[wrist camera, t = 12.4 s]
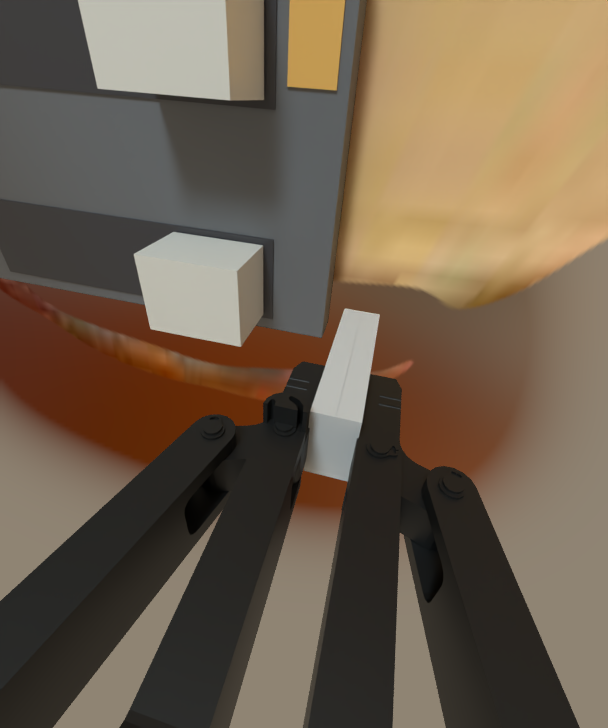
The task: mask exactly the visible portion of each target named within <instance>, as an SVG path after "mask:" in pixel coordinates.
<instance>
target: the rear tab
mask: <svg viewBox="0 0 608 728" xmlns="http://www.w3.org/2000/svg"><path fill="white" fill-rule="evenodd" d="M134 258H135V263H136V267H137V272H138V276H139V281H140V285H141V289H142V294H143V298H144V303H145V307H146V311H147V316H148V320H149V325H150V328H151V329H153V330H158V331H163V332H169V333H173V334H178V335H183V336H188V337H193V338H198V339H203V340H208V341H214V342H219V343H224V344H229V345H234V346H239V347H241V346H242V344H243V343H244V342H245V340H246V339H247V337H248V335H249V334H250V332H251V331H252V330H253V329H254V327H255V326H256V324H257V323H258V321H259V320H260V318H261V317H262V316H263V245H257V244H251V243H244V242H237V241H231V240H224V239H218V238H211V237H204V236H198V235H191V234H184V233H178V232H172V233H170V234H169V235H167V236H165V237H163V238H162V239H160V240H158V241H156V242H154V243H153V244H151V245H149V246H147V247H145V248H144V249H142V250H140V251H138V252H136V253H135V254H134Z"/></svg>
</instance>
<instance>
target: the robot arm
mask: <svg viewBox="0 0 608 728" xmlns="http://www.w3.org/2000/svg"><path fill="white" fill-rule="evenodd" d="M378 322H379V314H374V313H368V312H362V311H357V310H351V309H344V312H343V315H342V318H341V321H340V324H339V328H338V330H337V333H336V336H335V339H334V342H333V345H332V348H331V351H330V354H329V357H328V360H327V363H326V366H323V365H318V364H313V363H308V362H301V363H300V364H299V365H297V366H296V367H295V368H294V369H293V371H292V374H291V376H290V379H289V380H288V382H287V385H286V387H285V389H284V391H283V393H278V394H274V395H272V396H270V397H268V398H267V399H266V400H265V402H264V403H263V410H264V411H263V423H260V424H257V425H250V426H235V424H234V422H233V421H232V420H231V419H230V418H228V417H227V416H223V415H208V416H205V417H202V418H201V419H199V420H198V421H196V422H195V423H194V424H193V425H192V426H191V427H190V428H188V429H187V430H186V431H185V432H184V433H183V434H182V435H181V436H180V437H178V438H177V439H176V440H175V441H174V442H173V443H172V444H171V445H170V446H169V447H168V448H167V449H165V450H164V451H163V452H162V453H161V454H160V455H159V456H158V457H157V458H156V459H155V460H153V462H151V463H150V464H149V465H148V466H147V467H146V468H145V469H144V470H143V471H141V472H140V473H139V474H138V475H137V476H136V477H135V478H134V479H133V480H132V481H131V482H129V483H128V484H127V485H126V486H125V487H124V488H123V489H122V490H121V491H120V492H119V493H118V494H117V495H115V496H114V497H113V498H112V499H111V500H110V501H109V502H108V503H107V504H106V505H104V506H103V507H102V508H101V509H100V510H99V511H98V512H97V513H96V514H95V515H94V516H93V517H91V518H90V519H89V520H88V521H87V522H86V523H85V524H84V525H83V526H82V527H81V528H79V529H78V530H77V531H76V532H75V533H74V534H73V535H72V536H71V537H70V538H69V539H67V540H66V541H65V542H64V543H63V544H62V545H61V546H60V547H59V548H58V549H57V550H55V552H53V553H52V554H51V555H50V556H49V557H48V558H47V559H46V560H45V561H44V562H43V563H41V564H40V565H39V566H38V567H37V568H36V569H35V570H34V571H33V572H32V573H30V574H29V575H28V576H27V577H26V578H25V579H24V580H23V581H22V582H21V583H20V584H18V586H16V587H15V588H14V589H13V590H12V591H11V592H10V593H9V594H8V595H7V596H5V597H4V598H3V599H2V600H1V601H0V728H53V727H54V725H55V724H56V723H57V721H58V720H59V719H60V718H61V716H62V715H63V714H64V712H65V711H66V710H67V708H68V707H69V706H70V705H71V703H72V702H73V701H74V700H75V698H76V697H77V696H78V694H79V693H80V692H81V691H82V689H83V688H84V687H85V685H86V684H87V683H88V682H89V680H90V679H91V678H92V676H93V675H94V674H95V672H96V671H97V670H98V668H100V666H101V665H102V664H103V662H104V661H105V660H106V659H107V657H108V656H109V655H110V653H111V652H112V651H113V649H114V648H115V647H116V645H117V644H118V643H119V642H120V641H121V639H122V638H123V637H124V635H125V634H126V633H127V632H128V630H129V629H130V628H131V626H132V625H133V624H134V622H135V621H136V620H137V619H138V618H139V616H140V615H141V614H142V612H143V611H144V610H145V609H146V607H147V606H148V604H149V603H150V602H151V601H152V599H153V598H154V597H155V596H156V594H157V593H158V592H159V591H160V589H161V588H162V587H163V585H164V584H165V583H166V582H167V580H168V579H169V578H170V576H171V575H172V574H173V573H174V571H175V570H176V569H177V567H178V566H179V565H180V564H181V562H182V561H183V560H184V558H185V557H186V556H187V555H188V553H189V552H190V551H191V549H192V548H193V547H194V546H195V544H196V543H197V542H198V541H199V539H200V538H201V537H202V535H203V534H204V533H205V531H206V530H207V529H208V527H209V526H210V525H211V524H212V523H213V521H214V520H215V519H216V517H217V516H218V515H219V514H220V512H221V511H222V510H223V511H222V513H221V515H220V517H219V519H218V522H217V523H216V526H215V528H214V530H213V532H212V534H211V536H210V539H209V541H208V543H207V545H206V547H205V549H204V551H203V553H202V556H201V558H200V560H199V562H198V564H197V566H196V569H195V571H194V573H193V575H192V577H191V579H190V581H189V584H188V586H187V588H186V590H185V592H184V594H183V596H182V599H181V601H180V603H179V605H178V608H177V609H176V612H175V614H174V616H173V618H172V620H171V622H170V624H169V626H168V629H167V631H166V633H165V635H164V637H163V639H162V641H161V644H160V646H159V648H158V650H157V652H156V654H155V657H154V659H153V661H152V663H151V665H150V667H149V669H148V671H147V674H146V676H145V678H144V680H143V682H142V684H141V686H140V689H139V691H138V693H137V695H136V697H135V699H134V701H133V704H132V706H131V708H130V710H129V712H128V714H127V716H126V718H125V720H124V721H123V723H122V724H121V726H120V728H229V726H230V723H231V719H232V716H233V712H234V709H235V706H236V702H237V699H238V695H239V692H240V689H241V685H242V682H243V678H244V675H245V671H246V668H247V665H248V661H249V658H250V654H251V651H252V648H253V644H254V641H255V638H256V634H257V631H258V627H259V624H260V620H261V617H262V614H263V610H264V607H265V604H266V600H267V597H268V593H269V590H270V587H271V583H272V580H273V576H274V573H275V570H276V566H277V563H278V559H279V556H280V553H281V549H282V545H283V542H284V539H285V535H286V532H287V529H288V525H289V522H290V519H291V515H292V512H293V508H294V505H295V501H296V498H297V494H298V491H299V488H300V483H301V475H302V472H303V468H304V471H308V472H312V473H316V474H320V475H324V476H328V477H332V478H336V479H340V480H344V481H348V483H347V488H346V493H345V497H344V501H343V506H342V514H341V519H340V525H339V530H338V536H337V541H336V547H335V552H334V558H333V563H332V569H331V575H330V580H329V586H328V591H327V597H326V602H325V608H324V614H323V619H322V625H321V630H320V636H319V641H318V647H317V652H316V658H315V663H314V669H313V675H312V680H311V686H310V691H309V697H308V702H307V708H306V714H305V719H304V725H303V728H392V722H393V696H394V695H393V694H394V669H395V642H396V613H397V586H398V561H399V533H402V534H403V535H404V539H405V543H406V548H407V553H408V557H409V561H410V566H411V571H412V575H413V580H414V584H415V589H416V594H417V598H418V603H419V607H420V612H421V616H422V621H423V625H424V630H425V635H426V639H427V643H428V648H429V652H430V657H431V662H432V666H433V671H434V675H435V680H436V685H437V689H438V694H439V698H440V703H441V707H442V712H443V716H444V721H445V725H446V728H580V727H579V725H578V723H577V720H576V718H575V716H574V713H573V711H572V709H571V706H570V704H569V702H568V699H567V697H566V695H565V693H564V690H563V688H562V686H561V683H560V681H559V679H558V677H557V674H556V672H555V669H554V667H553V665H552V662H551V660H550V658H549V655H548V653H547V651H546V648H545V646H544V644H543V641H542V639H541V637H540V634H539V632H538V630H537V627H536V625H535V623H534V621H533V618H532V616H531V614H530V612H529V609H528V607H527V604H526V602H525V600H524V598H523V595H522V593H521V591H520V588H519V586H518V583H517V581H516V579H515V577H514V574H513V572H512V569H511V567H510V565H509V562H508V560H507V558H506V555H505V553H504V551H503V548H502V546H501V544H500V542H499V539H498V537H497V535H496V532H495V530H494V528H493V525H492V523H491V521H490V518H489V516H488V514H487V511H486V509H485V507H484V504H483V502H482V500H481V498H480V495H479V493H478V490H477V488H476V486H475V485H474V483H473V482H472V480H471V479H470V478H469V477H467V476H466V475H465V474H464V473H463V472H460V471H459V470H456V469H455V468H451V467H445V466H442V467H436V468H434V469H432V470H431V471H430V470H428V469H426V468H424V467H422V466H420V465H418V464H417V463H415V462H413V461H412V460H411V459H410V458H408V457H407V456H406V454H405V453H404V452H403V450H402V448H401V446H400V440H399V438H400V415H401V410H400V409H401V392H402V389H401V387H400V385H399V384H398V382H397V380H396V379H392V378H387V377H382V376H377V375H372V374H370V371H371V364H372V359H373V352H374V346H375V340H376V334H377V327H378Z"/></svg>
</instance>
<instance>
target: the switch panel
mask: <svg viewBox="0 0 608 728" xmlns="http://www.w3.org/2000/svg"><path fill="white" fill-rule="evenodd" d="M366 4H367V0H264V100H219V99H208V98H196V97H185V96H174V95H163V94H152V93H140V92H129V91H118V90H107V89H98V88H97V84H96V79H95V75H94V70H93V66H92V61H91V57H90V52H89V48H88V43H87V39H86V34H85V30H84V26H83V21H82V17H81V12H80V8H79V3H78V0H0V278H3V279H9V280H14V281H19V282H25V283H31V284H36V285H41V286H46V287H51V288H57V289H62V290H68V291H74V292H78V293H84V294H89V295H94V296H100V297H105V298H110V299H116V300H122V301H126V302H132V303H137V304H143V305H145V303H144V298H143V294H142V289H141V285H140V281H139V276H138V272H137V267H136V263H135V258H134V254H135V253H136V252H138V251H140V250H142V249H144V248H145V247H147V246H149V245H151V244H153V243H154V242H156V241H158V240H160V239H162V238H163V237H165V236H167V235H169V234H170V233H172V232H178V233H184V234H191V235H198V236H204V237H211V238H218V239H224V240H231V241H237V242H244V243H251V244H257V245H263V316H262V317H261V318H260V320H259V321H258V323H257V324H256V326H260V327H266V328H271V329H277V330H282V331H288V332H293V333H299V334H303V335H309V336H314V337H319V338H322V336H323V333H324V331H325V328H326V325H327V323H328V317H329V309H330V300H331V293H332V284H333V276H334V268H335V260H336V251H337V243H338V235H339V227H340V218H341V210H342V202H343V194H344V185H345V177H346V169H347V161H348V152H349V144H350V136H351V128H352V119H353V111H354V103H355V95H356V86H357V78H358V70H359V62H360V53H361V45H362V37H363V29H364V20H365V12H366Z"/></svg>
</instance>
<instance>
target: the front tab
mask: <svg viewBox="0 0 608 728" xmlns="http://www.w3.org/2000/svg"><path fill="white" fill-rule="evenodd" d="M78 3H79V8H80V12H81V17H82V21H83V26H84V30H85V34H86V39H87V43H88V48H89V52H90V57H91V61H92V66H93V70H94V75H95V79H96V84H97V88H98V89H107V90H118V91H129V92H140V93H152V94H163V95H174V96H185V97H196V98H208V99H219V100H264V0H78Z"/></svg>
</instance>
